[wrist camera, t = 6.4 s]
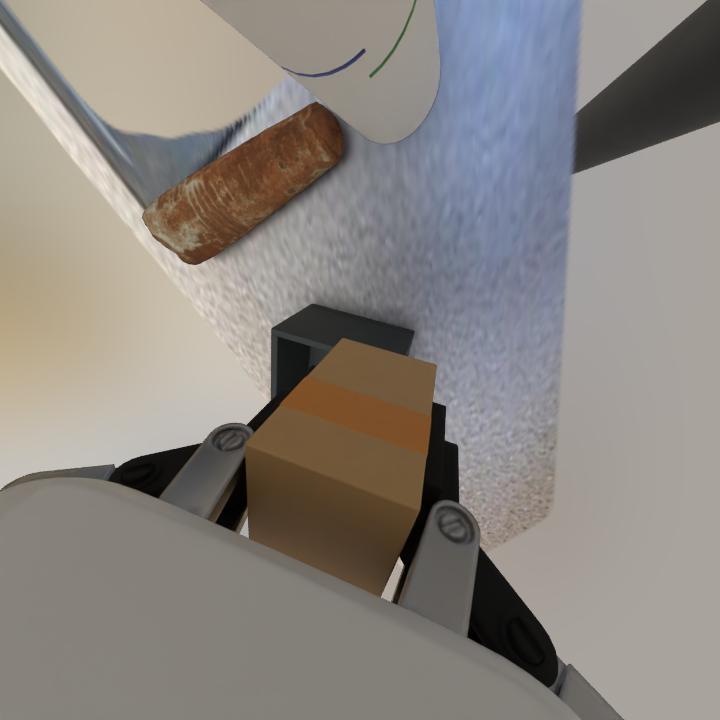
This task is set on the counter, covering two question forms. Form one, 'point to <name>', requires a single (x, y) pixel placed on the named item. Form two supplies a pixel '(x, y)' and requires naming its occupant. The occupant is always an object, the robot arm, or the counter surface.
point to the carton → (344, 464)
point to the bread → (245, 185)
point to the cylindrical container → (351, 55)
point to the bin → (325, 341)
